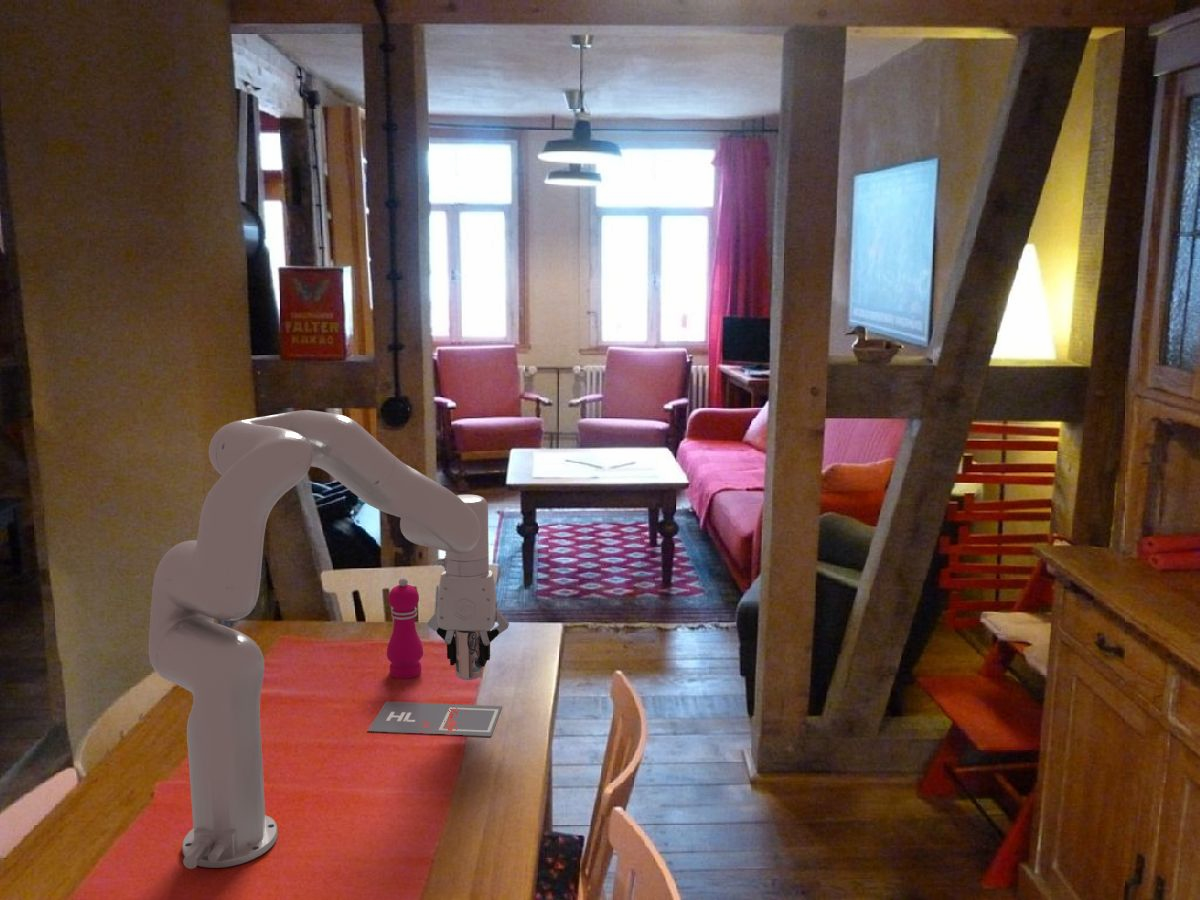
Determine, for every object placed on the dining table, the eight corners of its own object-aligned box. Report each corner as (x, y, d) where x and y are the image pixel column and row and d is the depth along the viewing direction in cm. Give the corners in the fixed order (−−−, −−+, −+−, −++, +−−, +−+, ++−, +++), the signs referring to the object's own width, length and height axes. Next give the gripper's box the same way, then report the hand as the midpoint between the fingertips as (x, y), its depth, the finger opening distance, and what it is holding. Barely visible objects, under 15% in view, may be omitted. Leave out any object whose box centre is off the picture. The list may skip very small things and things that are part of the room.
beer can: (477, 682, 173) (476, 618, 171) (451, 680, 174) (450, 615, 172) (486, 671, 178) (485, 608, 176) (460, 669, 179) (459, 606, 177)
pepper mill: (431, 670, 199) (429, 576, 196) (406, 683, 193) (403, 585, 190) (404, 663, 203) (402, 570, 199) (379, 674, 197) (376, 579, 193)
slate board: (490, 737, 171) (490, 735, 171) (367, 731, 173) (367, 730, 172) (502, 707, 183) (502, 706, 183) (386, 702, 184) (386, 701, 184)
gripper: (414, 570, 169) (416, 670, 172) (511, 573, 168) (512, 673, 171) (424, 557, 176) (427, 653, 180) (518, 560, 175) (518, 656, 179)
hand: (468, 662), depth 175 cm, fingers closed on beer can, 4 cm apart
